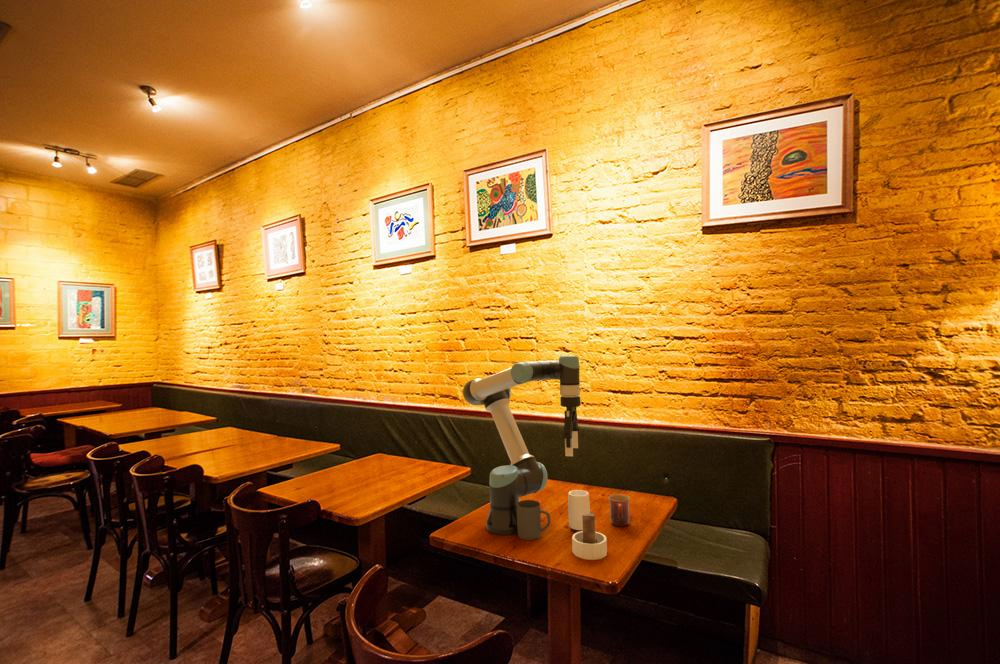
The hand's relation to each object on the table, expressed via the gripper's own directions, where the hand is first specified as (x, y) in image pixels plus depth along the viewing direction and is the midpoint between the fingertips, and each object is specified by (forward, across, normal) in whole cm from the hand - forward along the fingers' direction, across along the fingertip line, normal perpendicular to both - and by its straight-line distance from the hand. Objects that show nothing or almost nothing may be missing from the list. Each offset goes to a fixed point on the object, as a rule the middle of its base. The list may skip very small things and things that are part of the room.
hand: (571, 452), depth 177 cm
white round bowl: (+32, -12, -7) cm, 35 cm away
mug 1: (+32, -4, +15) cm, 35 cm away
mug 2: (+32, +15, -16) cm, 39 cm away
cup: (+32, +7, -1) cm, 33 cm away
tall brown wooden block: (+31, -12, -7) cm, 34 cm away
